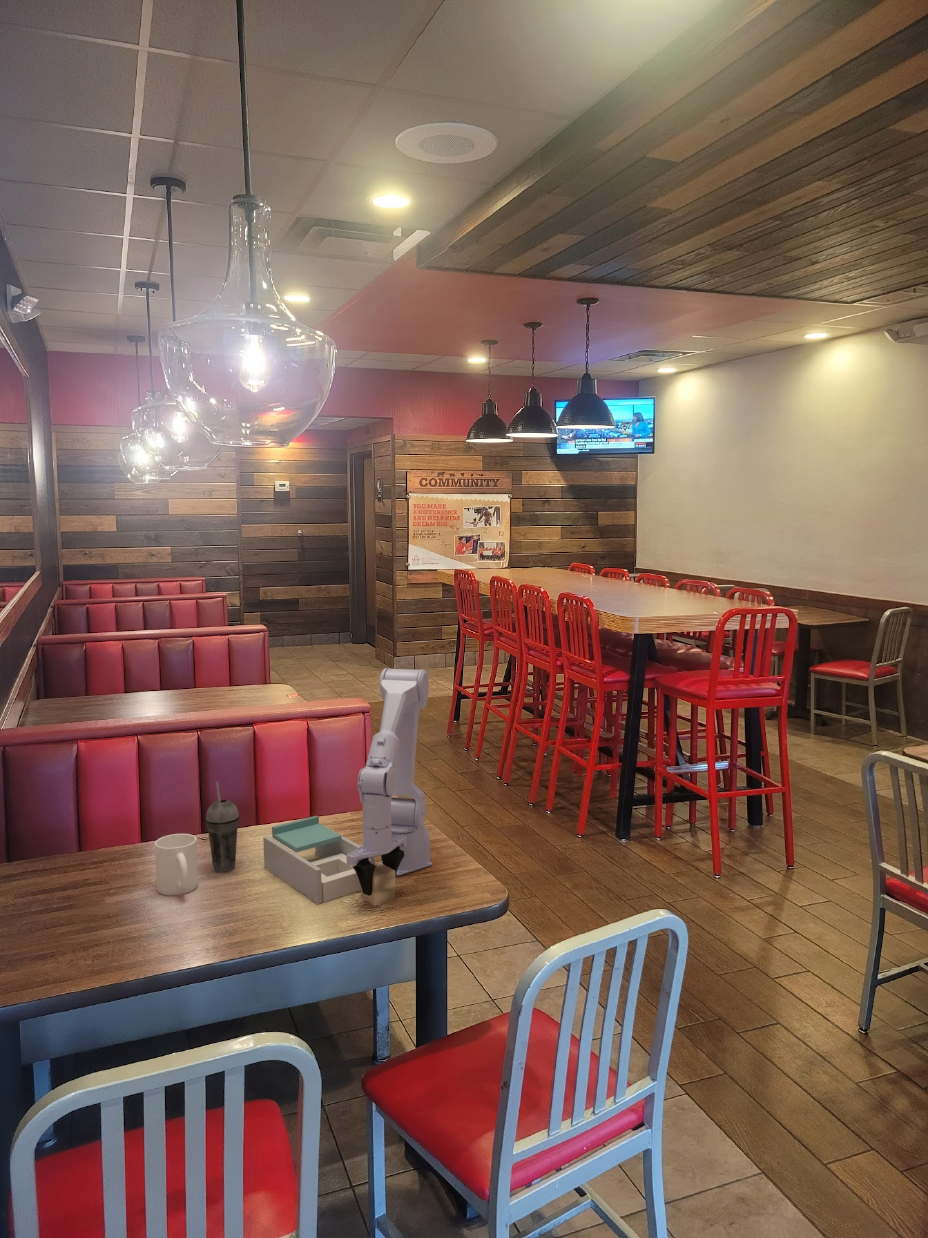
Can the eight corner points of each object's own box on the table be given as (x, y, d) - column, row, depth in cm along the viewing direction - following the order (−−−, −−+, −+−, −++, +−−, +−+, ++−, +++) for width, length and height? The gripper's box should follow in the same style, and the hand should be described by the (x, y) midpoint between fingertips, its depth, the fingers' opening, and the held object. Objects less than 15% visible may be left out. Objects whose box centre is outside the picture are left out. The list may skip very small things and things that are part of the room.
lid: (316, 826, 197) (316, 815, 197) (341, 840, 189) (341, 829, 188) (272, 837, 190) (271, 826, 190) (296, 852, 182) (296, 841, 181)
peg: (381, 891, 179) (381, 863, 179) (395, 899, 175) (395, 870, 175) (361, 897, 176) (360, 869, 175) (374, 906, 172) (374, 877, 172)
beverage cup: (248, 866, 192) (245, 779, 189) (223, 878, 186) (219, 788, 183) (225, 860, 196) (222, 774, 193) (200, 871, 189) (196, 782, 187)
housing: (319, 852, 200) (318, 823, 199) (375, 885, 182) (374, 853, 181) (264, 867, 191) (263, 837, 190) (317, 904, 173) (316, 870, 172)
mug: (206, 898, 176) (204, 849, 175) (164, 907, 172) (162, 857, 171) (193, 877, 186) (191, 831, 185) (153, 885, 182) (151, 838, 181)
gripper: (390, 811, 182) (391, 873, 183) (336, 829, 171) (337, 894, 173) (413, 819, 177) (414, 882, 179) (359, 838, 167) (360, 905, 168)
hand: (378, 889), depth 176 cm, fingers closed on peg, 5 cm apart
